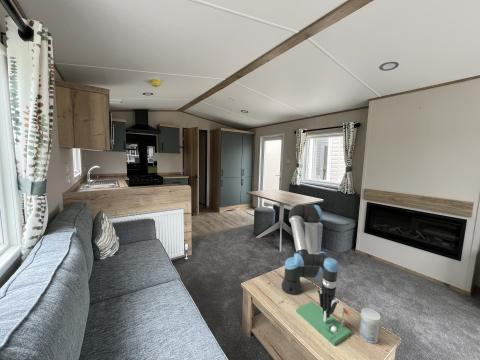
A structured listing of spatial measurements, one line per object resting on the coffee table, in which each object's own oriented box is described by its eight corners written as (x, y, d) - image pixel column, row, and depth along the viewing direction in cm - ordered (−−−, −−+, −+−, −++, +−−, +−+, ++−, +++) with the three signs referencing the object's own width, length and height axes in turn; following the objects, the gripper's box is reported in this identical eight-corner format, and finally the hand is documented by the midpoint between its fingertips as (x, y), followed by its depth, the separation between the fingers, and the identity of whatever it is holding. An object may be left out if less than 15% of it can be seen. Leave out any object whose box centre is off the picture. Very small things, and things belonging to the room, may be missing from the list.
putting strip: (296, 311, 138) (297, 292, 136) (311, 303, 145) (313, 285, 143) (334, 345, 114) (336, 322, 112) (350, 334, 121) (352, 312, 120)
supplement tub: (365, 327, 127) (368, 305, 125) (382, 340, 118) (385, 316, 116) (355, 333, 122) (357, 310, 120) (371, 346, 114) (374, 322, 112)
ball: (335, 326, 121) (336, 333, 119) (337, 326, 123) (338, 333, 122) (329, 326, 123) (330, 333, 121) (331, 326, 125) (332, 333, 123)
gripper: (315, 280, 127) (312, 315, 131) (335, 293, 116) (331, 331, 120) (323, 277, 131) (320, 310, 135) (343, 289, 120) (339, 325, 124)
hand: (325, 320), depth 127 cm, fingers closed
